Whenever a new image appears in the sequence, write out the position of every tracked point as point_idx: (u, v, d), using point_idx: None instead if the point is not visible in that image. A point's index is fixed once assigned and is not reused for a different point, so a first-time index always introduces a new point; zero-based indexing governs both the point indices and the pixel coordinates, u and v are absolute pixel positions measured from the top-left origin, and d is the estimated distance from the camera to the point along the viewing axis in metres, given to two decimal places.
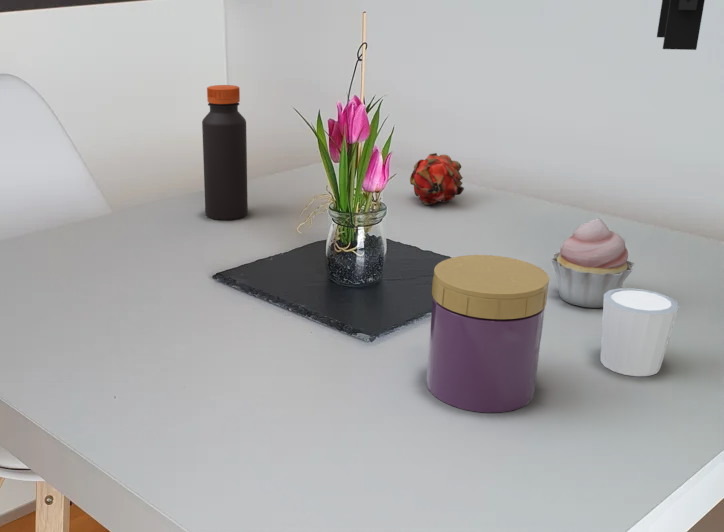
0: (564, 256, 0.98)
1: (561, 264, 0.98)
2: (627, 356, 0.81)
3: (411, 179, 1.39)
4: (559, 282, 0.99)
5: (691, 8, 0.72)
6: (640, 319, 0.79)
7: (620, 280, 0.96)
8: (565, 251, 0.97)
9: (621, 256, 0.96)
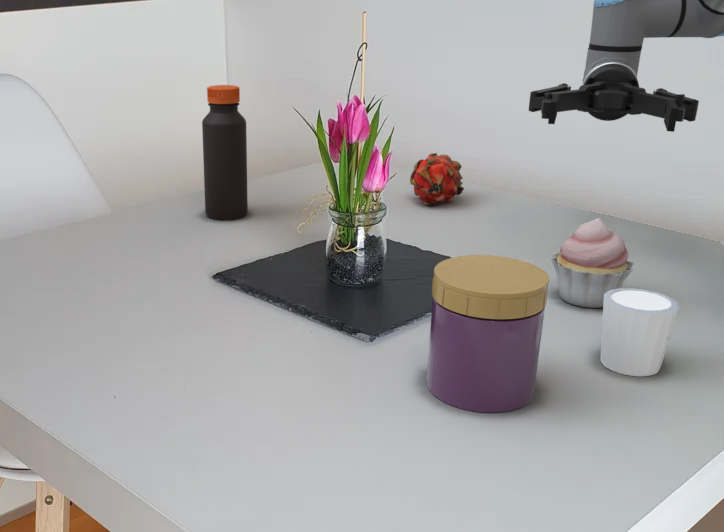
0: (564, 256, 0.98)
1: (561, 264, 0.98)
2: (627, 356, 0.81)
3: (411, 179, 1.39)
4: (559, 282, 0.99)
5: (542, 104, 1.06)
6: (640, 319, 0.79)
7: (620, 280, 0.96)
8: (564, 251, 0.97)
9: (621, 256, 0.96)
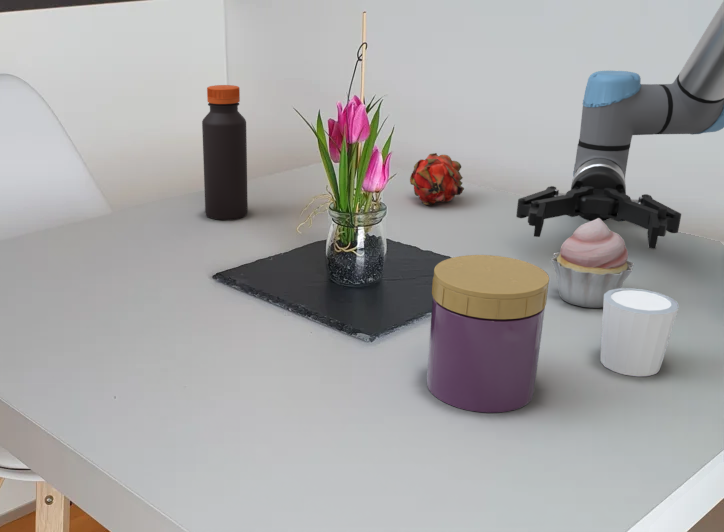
0: (564, 256, 0.98)
1: (561, 264, 0.98)
2: (627, 356, 0.81)
3: (411, 179, 1.39)
4: (559, 282, 0.99)
5: (529, 215, 1.10)
6: (640, 319, 0.79)
7: (620, 280, 0.96)
8: (565, 251, 0.97)
9: (621, 256, 0.96)
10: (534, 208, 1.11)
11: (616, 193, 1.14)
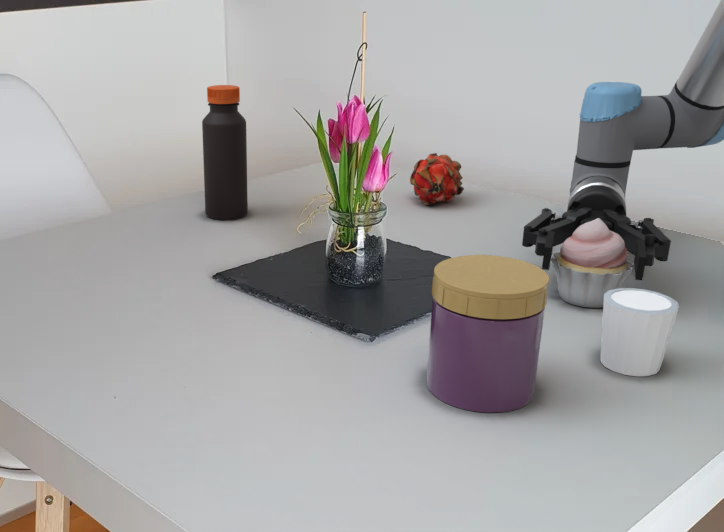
0: (564, 256, 0.98)
1: (561, 264, 0.98)
2: (627, 356, 0.81)
3: (411, 179, 1.39)
4: (559, 282, 0.99)
5: (536, 245, 0.99)
6: (640, 319, 0.79)
7: (620, 280, 0.96)
8: (564, 251, 0.97)
9: (620, 256, 0.96)
10: (542, 237, 1.01)
11: (616, 215, 1.06)
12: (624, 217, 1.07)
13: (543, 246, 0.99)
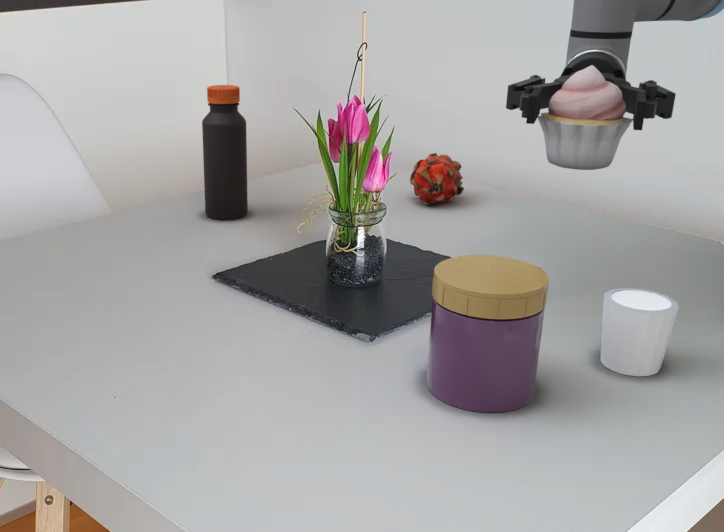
0: (552, 110, 0.85)
1: (549, 120, 0.85)
2: (627, 356, 0.81)
3: (411, 179, 1.39)
4: (547, 143, 0.87)
5: (521, 100, 0.87)
6: (640, 319, 0.79)
7: (616, 136, 0.84)
8: (553, 104, 0.85)
9: (617, 106, 0.83)
10: (528, 93, 0.88)
11: (614, 77, 0.93)
12: None
13: (528, 101, 0.86)
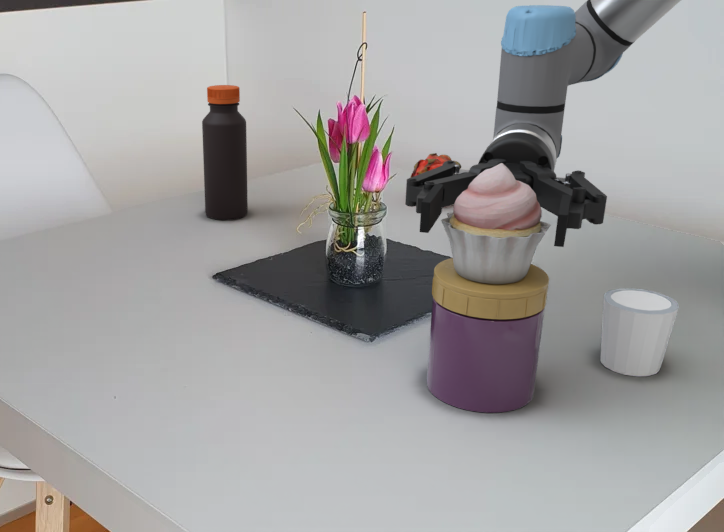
0: (456, 215, 0.73)
1: (453, 226, 0.73)
2: (627, 356, 0.81)
3: None
4: (452, 251, 0.75)
5: (417, 201, 0.75)
6: (641, 319, 0.79)
7: (530, 246, 0.72)
8: (457, 208, 0.73)
9: (529, 213, 0.71)
10: (427, 191, 0.77)
11: (535, 168, 0.81)
12: (547, 171, 0.82)
13: None
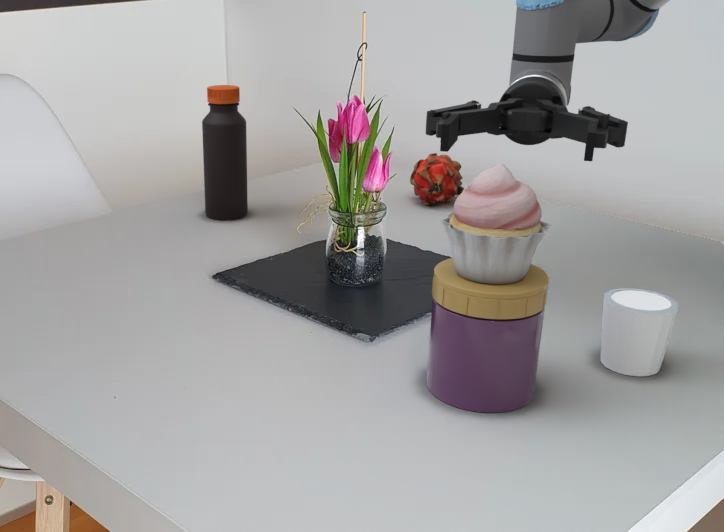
0: (456, 215, 0.73)
1: (453, 226, 0.73)
2: (627, 356, 0.81)
3: (411, 179, 1.39)
4: (452, 251, 0.75)
5: (437, 127, 0.86)
6: (640, 319, 0.79)
7: (530, 246, 0.72)
8: (457, 208, 0.73)
9: (529, 213, 0.71)
10: (445, 120, 0.88)
11: (550, 104, 0.91)
12: None
13: None
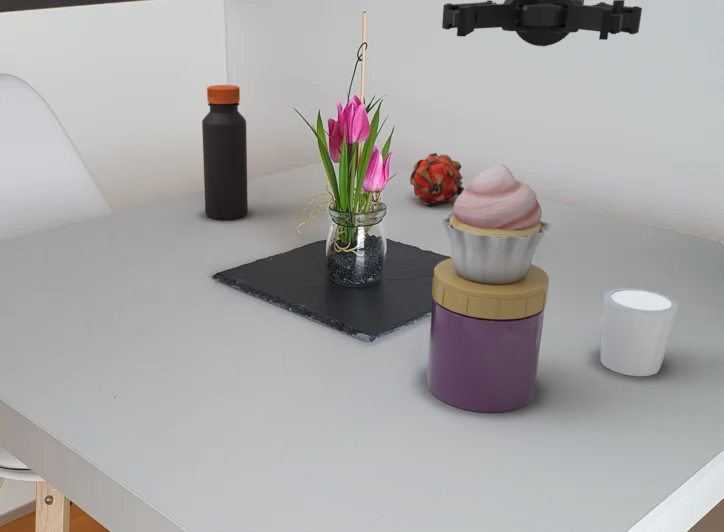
0: (456, 215, 0.73)
1: (453, 226, 0.73)
2: (627, 356, 0.81)
3: (411, 179, 1.39)
4: (452, 250, 0.75)
5: (454, 16, 0.88)
6: (641, 319, 0.79)
7: (530, 246, 0.72)
8: (457, 208, 0.73)
9: (529, 213, 0.71)
10: None
11: None
12: None
13: None
